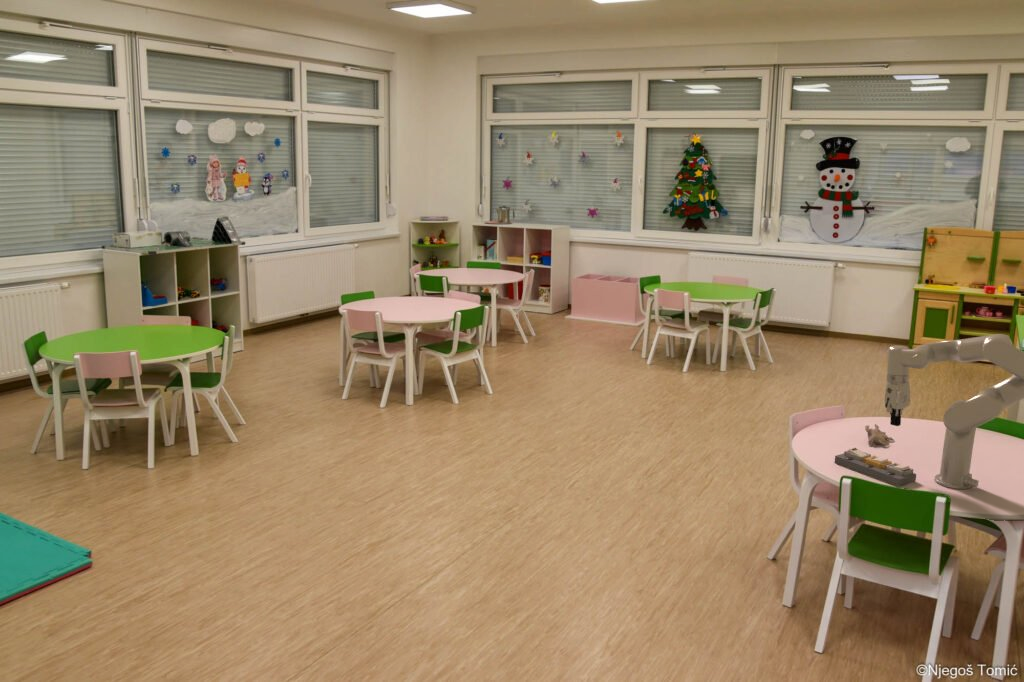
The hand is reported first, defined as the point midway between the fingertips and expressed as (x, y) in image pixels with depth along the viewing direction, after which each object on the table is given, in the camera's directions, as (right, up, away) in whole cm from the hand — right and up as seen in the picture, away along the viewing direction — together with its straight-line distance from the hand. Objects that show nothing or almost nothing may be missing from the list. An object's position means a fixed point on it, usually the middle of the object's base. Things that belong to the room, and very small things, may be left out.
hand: (895, 425), depth 320 cm
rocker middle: (-6, -14, +1) cm, 15 cm away
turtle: (+9, -11, +35) cm, 38 cm away
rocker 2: (-1, -15, -6) cm, 17 cm away
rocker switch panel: (-8, -18, +1) cm, 20 cm away
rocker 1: (-11, -12, +9) cm, 18 cm away
